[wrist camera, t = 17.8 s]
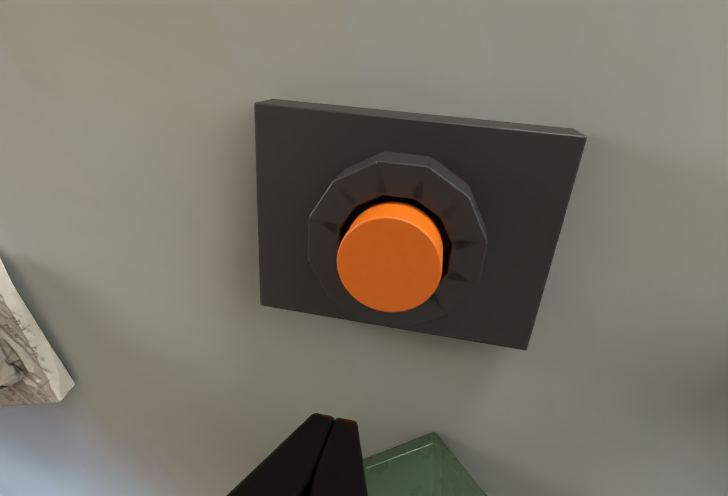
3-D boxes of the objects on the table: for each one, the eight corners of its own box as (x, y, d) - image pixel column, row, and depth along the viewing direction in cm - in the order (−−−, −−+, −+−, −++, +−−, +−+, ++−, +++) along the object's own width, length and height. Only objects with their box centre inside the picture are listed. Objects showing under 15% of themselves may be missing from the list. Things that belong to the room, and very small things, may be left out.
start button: (450, 207, 15) (450, 224, 13) (435, 295, 17) (433, 320, 15) (350, 194, 16) (338, 209, 14) (344, 281, 17) (334, 303, 15)
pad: (574, 128, 16) (603, 145, 13) (520, 327, 20) (533, 377, 17) (271, 98, 18) (232, 107, 15) (274, 287, 22) (244, 326, 18)
